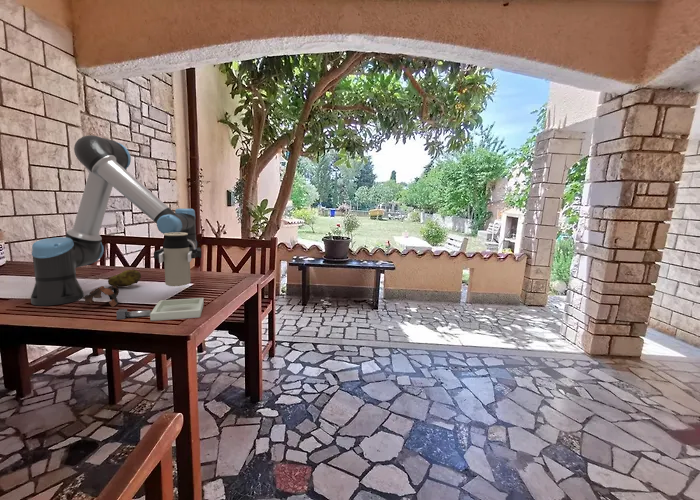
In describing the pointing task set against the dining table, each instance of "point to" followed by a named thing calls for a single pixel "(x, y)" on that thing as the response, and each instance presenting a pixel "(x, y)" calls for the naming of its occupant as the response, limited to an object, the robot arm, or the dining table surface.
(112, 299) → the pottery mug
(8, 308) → the dining table surface
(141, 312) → the metal bolt
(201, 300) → the tray
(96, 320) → the dining table surface
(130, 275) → the olive green oval lump
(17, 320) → the dining table surface
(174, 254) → the travel mug
